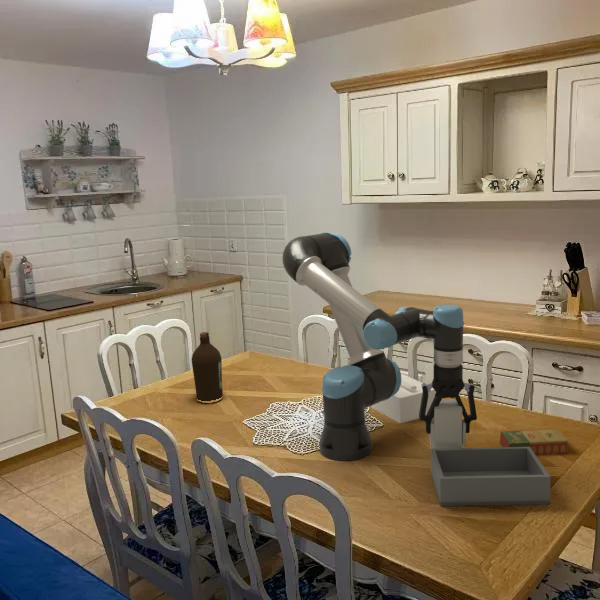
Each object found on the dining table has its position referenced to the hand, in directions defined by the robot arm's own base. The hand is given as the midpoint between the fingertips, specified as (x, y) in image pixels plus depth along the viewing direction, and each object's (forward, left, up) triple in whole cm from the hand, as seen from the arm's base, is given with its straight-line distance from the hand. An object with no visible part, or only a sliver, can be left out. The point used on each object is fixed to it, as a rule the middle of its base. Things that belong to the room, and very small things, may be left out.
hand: (447, 443), depth 168 cm
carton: (+24, +6, -5) cm, 26 cm away
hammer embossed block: (-11, +40, -5) cm, 41 cm away
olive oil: (-77, +52, -5) cm, 93 cm away
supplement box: (0, 0, -1) cm, 1 cm away
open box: (+7, -16, -4) cm, 18 cm away
